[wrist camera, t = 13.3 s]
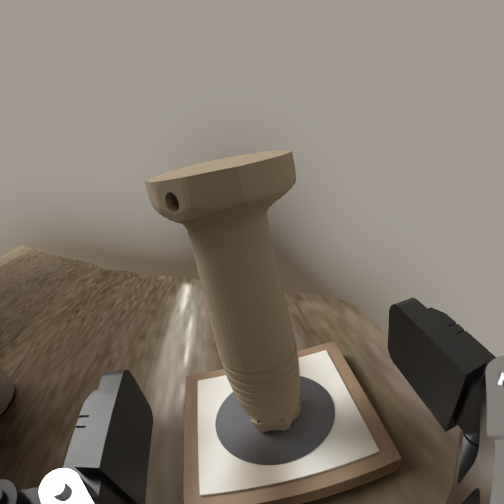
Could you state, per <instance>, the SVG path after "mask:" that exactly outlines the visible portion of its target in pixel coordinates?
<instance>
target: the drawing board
mask: <svg viewBox="0 0 504 504" xmlns="http://www.w3.org/2000/svg"><path fill="white" fill-rule="evenodd" d="M297 353H298V359H299V371H300V393H299V400H300V406H301V409H300V415H299V417H298V418H295V419H294V420H293V421H292V423H291V425H290V428H289V429H287V430H285V431H280V430H270V431H267V432H260V431H258V430H257V429H256V428H255V427H254V426H253V424H252V422H251V417H250V416H249V415H248V414H247V413H246V412H245V411H244V409H243V408H242V406H241V405H240V403H239V401H238V400H237V398H236V396H235V394H234V392H233V390H232V388H231V385H230V383H229V381H228V379H227V376H226V374H225V371H224V369H222V370H217V371H212V372H207V373H201V374H196V375H191V376H186V397H185V425H184V504H303V503H307V502H310V501H314V500H318V499H321V498H325V497H328V496H331V495H334V494H338V493H341V492H344V491H347V490H350V489H352V488H355V487H358V486H361V485H363V484H366V483H369V482H371V481H374V480H376V479H379V478H381V477H384V476H386V475H388V474H391V473H393V472H395V471H397V470H398V468H399V465H400V463H401V460H402V457H401V456H400V454H399V452H398V450H397V448H396V447H395V445H394V443H393V441H392V440H391V438H390V436H389V434H388V433H387V431H386V429H385V427H384V426H383V424H382V422H381V420H380V419H379V417H378V415H377V413H376V412H375V410H374V408H373V406H372V405H371V403H370V401H369V400H368V398H367V396H366V394H365V393H364V391H363V389H362V388H361V386H360V384H359V382H358V381H357V379H356V377H355V376H354V374H353V372H352V371H351V369H350V367H349V365H348V364H347V362H346V360H345V359H344V357H343V355H342V354H341V352H340V350H339V349H338V347H337V345H336V344H335V342H334V341H332V342H329V343H325V344H322V345H318V346H315V347H311V348H308V349H304V350H301V351H297Z"/></svg>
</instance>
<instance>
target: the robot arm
mask: <svg viewBox="0 0 504 504" xmlns="http://www.w3.org/2000/svg"><path fill="white" fill-rule="evenodd" d="M388 350H389V354H390V357H391V359H392V361H393V363H394V364H395V365H396V366H397V368H398V369H399V370H400V372H401V373H402V374H403V376H404V377H405V378H406V379H407V381H408V382H409V383H410V385H411V386H412V387H413V389H414V390H415V391H416V393H417V394H418V395H419V397H420V398H421V399H422V401H423V402H424V403H425V405H426V406H427V407H428V409H429V410H430V411H431V413H432V414H433V415H434V417H435V418H436V419H437V421H438V422H439V423H440V425H441V426H442V428H443V429H444V430H445V432H446V431H448V430H450V429H451V428H453V427H455V426H456V425H459V427H460V428H461V429H462V430H461V433H460V436H459V445H458V454H457V461H456V468H455V474H454V480H453V485H452V489H451V492H450V495H449V497H448V499H447V502H446V504H504V356H500V357H497V358H496V357H495V356H494V355H493V354H491V353H490V352H489V351H488V350H487V349H486V348H485V347H484V346H482V345H481V344H480V343H479V342H478V341H477V340H476V339H475V338H473V337H472V336H471V335H470V334H469V333H468V332H467V331H464V329H463V328H462V327H461V326H460V325H458V324H456V323H455V321H454V320H452V319H451V318H450V317H449V316H448V315H447V314H445V313H443V312H441V311H438V310H436V309H433V308H428V309H427V308H426V307H425V306H424V305H423V304H421V303H420V302H419V301H418V300H417V299H415V298H410V299H408V300H405V301H402V302H399V303H396V304H394V305H392V306H391V307H390V310H389V333H388ZM13 394H14V384H13V382H12V381H11V379H10V378H9V376H8V375H7V373H6V372H5V370H4V369H3V367H2V365H1V364H0V415H1V414H2V413H3V412H4V410H5V409H6V408H7V407H8V405H9V403H10V402H11V400H12V397H13ZM152 425H153V416H152V411H151V408H150V405H149V403H148V402H147V400H146V398H145V396H144V395H143V393H142V391H141V390H140V388H139V386H138V384H137V382H136V381H135V379H134V377H133V375H132V374H131V372H130V371H128V370H123V371H116V372H109V373H105V374H104V375H103V376H102V379H101V382H100V385H99V388H98V390H94V391H93V392H92V393H91V394H90V396H89V397H88V398H87V399H86V401H85V402H84V404H83V407H82V410H81V413H80V418H78V421H77V424H76V427H77V428H76V429H75V430H74V433H73V436H72V439H71V442H70V446H69V449H68V452H67V455H66V459H65V462H64V465H63V468H61V469H56V470H54V471H52V472H50V473H49V474H48V475H46V476H45V478H44V479H43V480H42V482H41V484H40V487H35V488H30V489H24V490H20V489H19V488H17V487H16V486H15V485H14V484H13V483H12V482H10V481H9V480H6V479H0V504H145V497H146V484H147V472H148V461H149V451H150V442H151V433H152Z"/></svg>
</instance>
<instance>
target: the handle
mask: <svg viewBox="0 0 504 504" xmlns="http://www.w3.org/2000/svg"><path fill="white" fill-rule="evenodd" d="M295 182H296V172H295V166H294V160H293V155H292V151H291V150H281V151H268V152H260V153H252V154H245V155H239V156H233V157H228V158H222V159H218V160H213V161H208V162H204V163H199V164H195V165H191V166H188V167H184V168H181V169H177V170H174V171H171V172H168V173H165V174H162V175H159V176H156V177H153V178H151V179H149V180H146V181H145V184H146V187H147V191H148V194H149V198H150V201H151V204H152V206H153V207H154V209H155V210H156V211H157V212H158V213H159V214H161V215H162V216H164V217H165V218H167V219H169V220H172V221H175V222H178V223H181V224H183V225H184V226H185V227H186V228H187V231H188V234H189V238H190V241H191V244H192V247H193V250H194V255H195V259H196V263H197V268H198V272H199V276H200V280H201V284H202V289H203V293H204V297H205V301H206V305H207V309H208V313H209V317H210V321H211V325H212V329H213V333H214V337H215V341H216V345H217V349H218V353H219V357H220V359H221V363H222V365H223V368H224V371H225V374H226V376H227V379H228V381H229V383H230V385H231V388H232V390H233V392H234V394H235V396H236V398H237V400H238V401H239V403H240V405H241V406H242V408H243V409H244V411H245V412H246V413H247V414H248V415H249V416H250V417H251V422H252V424H253V426H254V427H255V428H256V429H257V430H258V431H260V432H267V431H270V430H280V431H285V430H287V429H289V428H290V425H291V423H292V421H293V420H294V419H295V418H298V417H299V415H300V409H301V406H300V400H299V393H300V371H299V359H298V353H297V346H296V340H295V336H294V332H293V328H292V324H291V320H290V316H289V312H288V308H287V304H286V300H285V296H284V292H283V288H282V284H281V280H280V276H279V272H278V268H277V263H276V259H275V255H274V251H273V247H272V243H271V238H270V234H269V227H268V219H267V210H268V209H269V207H270V206H271V205H272V204H273V203H275V202H276V201H277V200H278V199H280V198H281V197H282V196H283V195H285V194H286V193H287V192H288V191H289V190H290V189H291V188H292V186H293V185H294V184H295Z"/></svg>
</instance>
